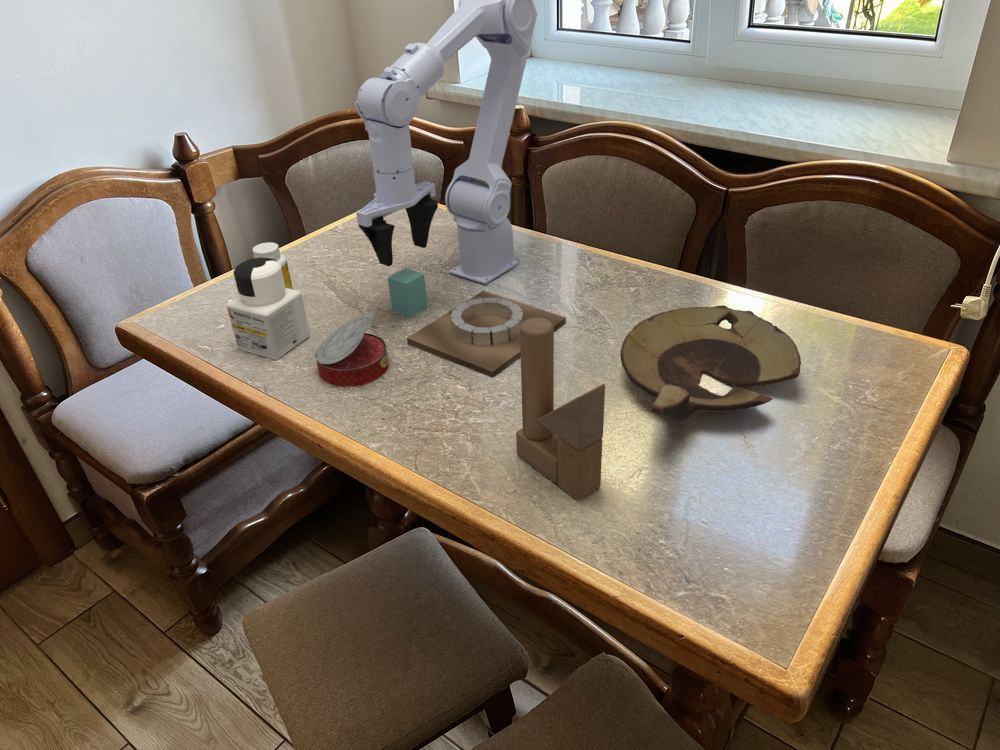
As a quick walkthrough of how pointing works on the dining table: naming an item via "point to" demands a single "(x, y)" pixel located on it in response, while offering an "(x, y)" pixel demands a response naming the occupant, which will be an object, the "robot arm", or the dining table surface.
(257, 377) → the dining table surface
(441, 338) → the walnut board
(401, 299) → the teal peg
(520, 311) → the steel collar
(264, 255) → the supplement bottle
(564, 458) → the wooden block
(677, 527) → the dining table surface
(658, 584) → the dining table surface
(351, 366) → the canned food
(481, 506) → the dining table surface
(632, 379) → the broken plate
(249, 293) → the container
